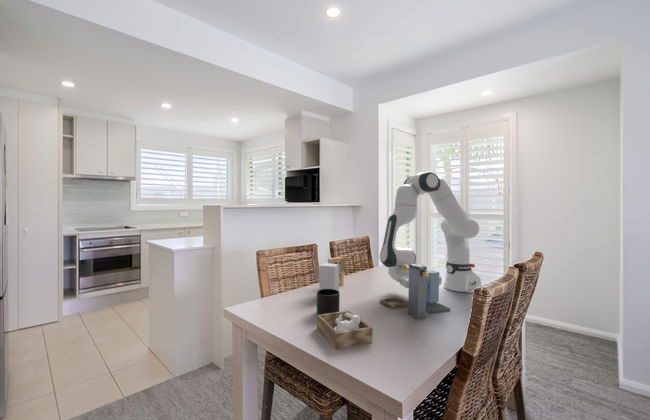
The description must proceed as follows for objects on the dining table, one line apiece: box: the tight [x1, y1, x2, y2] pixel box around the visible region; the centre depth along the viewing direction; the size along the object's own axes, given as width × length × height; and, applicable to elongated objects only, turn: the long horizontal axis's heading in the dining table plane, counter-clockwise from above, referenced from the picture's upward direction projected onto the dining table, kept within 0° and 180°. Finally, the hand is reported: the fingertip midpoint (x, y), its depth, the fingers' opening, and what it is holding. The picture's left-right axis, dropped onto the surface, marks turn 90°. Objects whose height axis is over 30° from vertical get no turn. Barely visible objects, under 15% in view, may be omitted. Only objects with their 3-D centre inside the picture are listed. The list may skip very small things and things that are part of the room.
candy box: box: [327, 256, 345, 286], centre depth 170 cm, size 9×4×15 cm, turn 129°
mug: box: [316, 289, 341, 315], centre depth 128 cm, size 9×12×9 cm
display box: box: [316, 310, 373, 350], centre depth 106 cm, size 13×17×5 cm
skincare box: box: [318, 262, 340, 292], centre depth 151 cm, size 8×7×16 cm
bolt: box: [402, 264, 430, 277], centre depth 125 cm, size 2×15×2 cm, turn 23°
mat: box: [426, 301, 451, 315], centre depth 135 cm, size 10×12×1 cm
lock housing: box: [407, 263, 428, 320], centre depth 124 cm, size 4×6×21 cm, turn 23°
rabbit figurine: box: [334, 312, 361, 332], centre depth 105 cm, size 12×8×10 cm, turn 88°
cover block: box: [426, 269, 440, 303], centre depth 135 cm, size 4×4×13 cm
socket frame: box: [379, 296, 408, 310], centre depth 139 cm, size 10×10×1 cm
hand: (432, 285), depth 134 cm, fingers closed on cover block, 4 cm apart
